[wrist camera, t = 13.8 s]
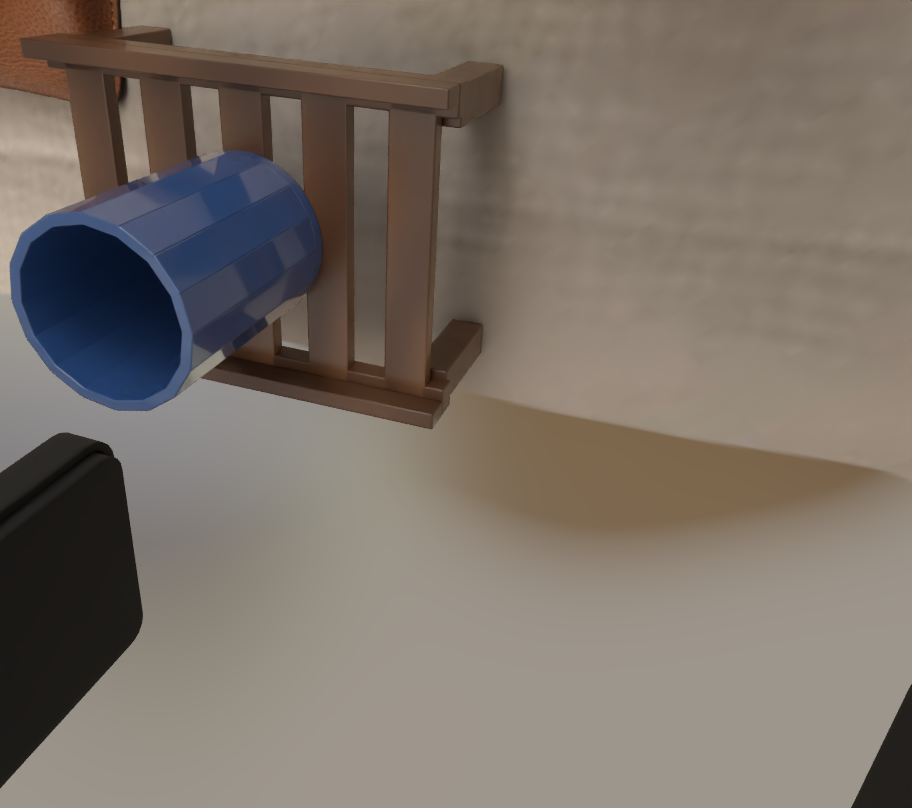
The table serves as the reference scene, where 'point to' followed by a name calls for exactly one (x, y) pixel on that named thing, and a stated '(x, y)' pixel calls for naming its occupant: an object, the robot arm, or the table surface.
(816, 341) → the table surface
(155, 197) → the cup
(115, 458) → the robot arm
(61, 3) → the sunglasses case
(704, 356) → the table surface
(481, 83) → the rack
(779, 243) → the table surface
